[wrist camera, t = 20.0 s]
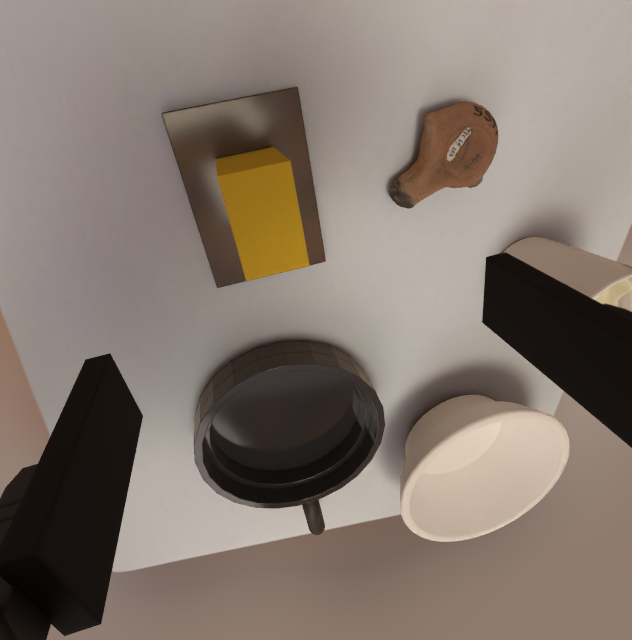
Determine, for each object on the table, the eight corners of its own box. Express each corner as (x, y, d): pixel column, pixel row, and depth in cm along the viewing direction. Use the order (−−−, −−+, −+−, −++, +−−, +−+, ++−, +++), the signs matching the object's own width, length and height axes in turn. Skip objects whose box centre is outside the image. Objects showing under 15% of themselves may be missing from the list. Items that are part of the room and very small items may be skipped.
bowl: (540, 353, 50) (594, 395, 43) (506, 471, 61) (545, 520, 54) (378, 381, 46) (409, 433, 39) (372, 501, 57) (395, 559, 50)
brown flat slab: (161, 112, 29) (161, 113, 29) (296, 87, 30) (297, 86, 30) (217, 285, 37) (217, 288, 36) (324, 259, 38) (325, 261, 37)
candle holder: (574, 223, 42) (691, 265, 32) (551, 307, 47) (647, 366, 37) (488, 234, 40) (583, 282, 30) (474, 320, 45) (551, 386, 35)
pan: (168, 368, 39) (164, 398, 36) (361, 317, 42) (376, 340, 38) (224, 494, 50) (225, 528, 46) (377, 448, 52) (390, 476, 48)
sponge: (214, 157, 31) (217, 176, 24) (272, 145, 32) (290, 160, 25) (238, 244, 35) (246, 281, 28) (290, 232, 35) (309, 265, 28)
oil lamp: (385, 106, 33) (383, 204, 37) (399, 109, 30) (395, 217, 34) (492, 98, 34) (478, 196, 38) (517, 100, 30) (499, 207, 34)
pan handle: (297, 486, 48) (300, 500, 46) (313, 481, 48) (317, 495, 47) (308, 525, 52) (312, 540, 50) (323, 521, 52) (327, 535, 51)
